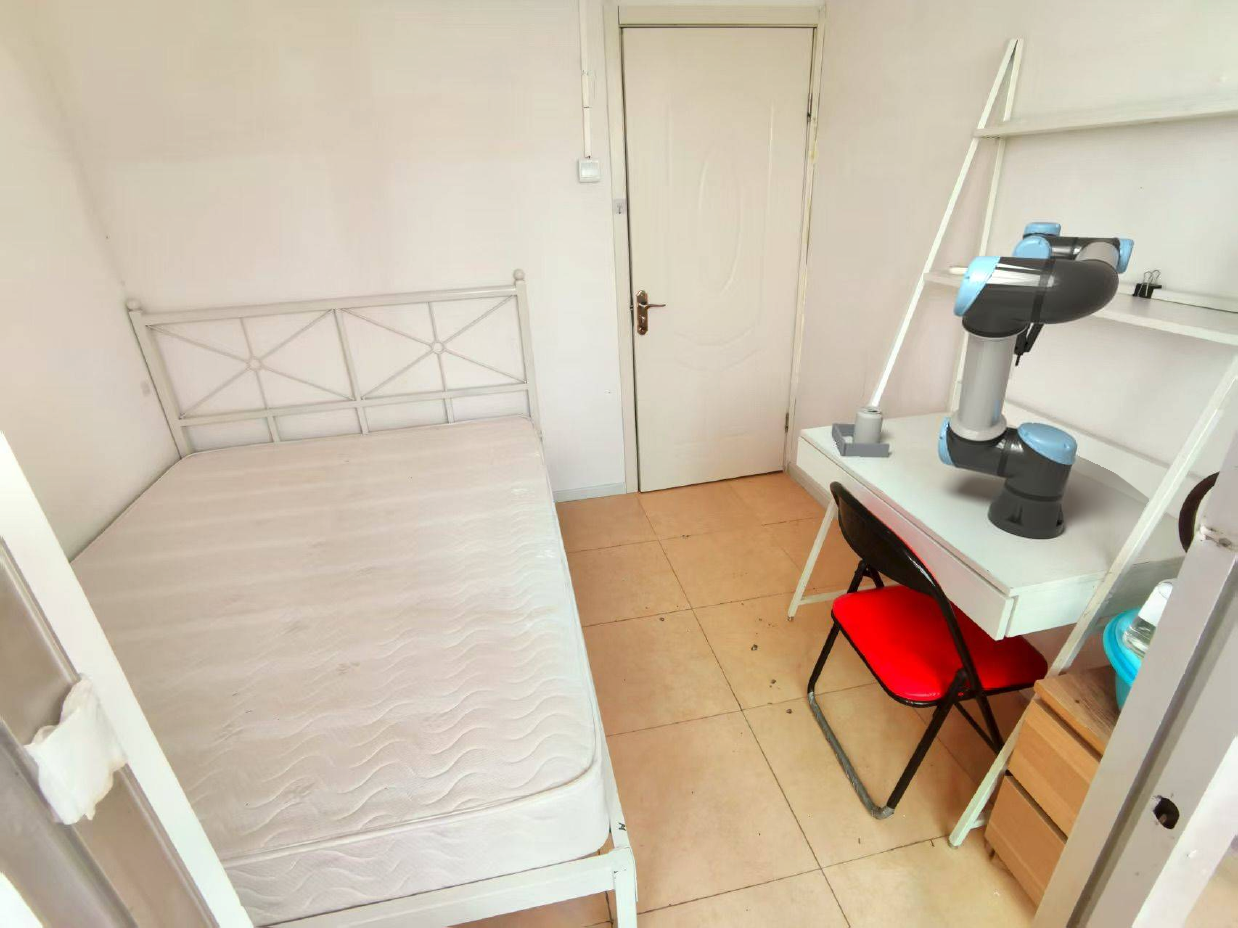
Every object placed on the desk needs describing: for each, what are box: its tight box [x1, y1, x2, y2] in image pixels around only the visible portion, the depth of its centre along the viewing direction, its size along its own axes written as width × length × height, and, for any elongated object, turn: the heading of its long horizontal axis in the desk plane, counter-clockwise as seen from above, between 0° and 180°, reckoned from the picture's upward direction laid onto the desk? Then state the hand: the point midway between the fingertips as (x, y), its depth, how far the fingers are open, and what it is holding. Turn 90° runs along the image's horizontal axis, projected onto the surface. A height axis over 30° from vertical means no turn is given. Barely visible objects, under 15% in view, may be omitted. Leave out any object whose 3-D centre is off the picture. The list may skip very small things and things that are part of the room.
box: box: [831, 423, 891, 458], centre depth 190 cm, size 16×13×4 cm
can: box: [851, 404, 885, 443], centre depth 188 cm, size 8×8×12 cm
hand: (1006, 377), depth 169 cm, fingers closed
